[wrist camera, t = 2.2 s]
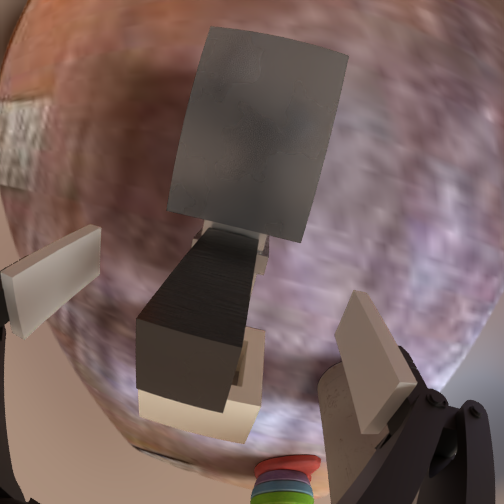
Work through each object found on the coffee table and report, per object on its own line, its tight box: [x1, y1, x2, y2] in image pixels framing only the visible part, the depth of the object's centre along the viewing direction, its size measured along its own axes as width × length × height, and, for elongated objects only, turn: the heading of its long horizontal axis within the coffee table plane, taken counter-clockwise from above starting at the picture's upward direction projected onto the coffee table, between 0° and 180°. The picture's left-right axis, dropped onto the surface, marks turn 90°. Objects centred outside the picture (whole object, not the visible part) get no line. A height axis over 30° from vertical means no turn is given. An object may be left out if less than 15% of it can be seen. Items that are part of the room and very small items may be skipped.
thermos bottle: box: [317, 362, 419, 504], centre depth 16 cm, size 8×8×28 cm
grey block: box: [166, 26, 349, 243], centre depth 17 cm, size 10×7×10 cm
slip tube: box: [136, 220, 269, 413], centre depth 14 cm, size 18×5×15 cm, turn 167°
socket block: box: [138, 327, 265, 444], centre depth 24 cm, size 6×9×10 cm, turn 77°
